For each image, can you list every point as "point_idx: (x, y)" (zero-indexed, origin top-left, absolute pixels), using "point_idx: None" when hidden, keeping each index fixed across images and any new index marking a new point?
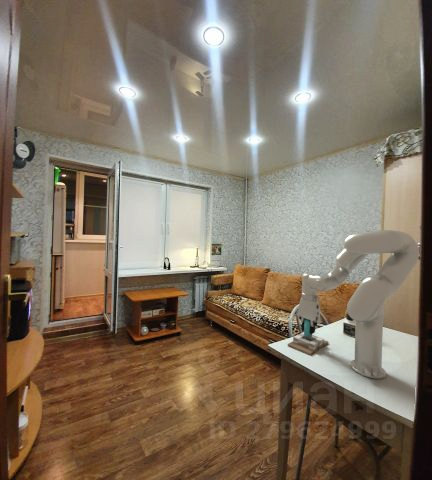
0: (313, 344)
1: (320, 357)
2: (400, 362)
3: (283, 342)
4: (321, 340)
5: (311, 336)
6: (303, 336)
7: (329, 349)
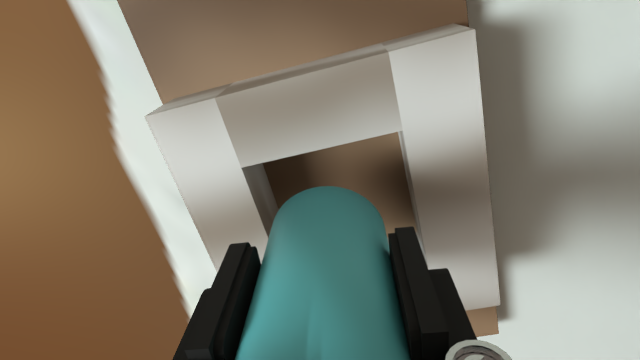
0: (491, 302)
1: (566, 276)
2: None
3: None
4: (481, 114)
5: (386, 235)
6: (265, 224)
7: (549, 47)
